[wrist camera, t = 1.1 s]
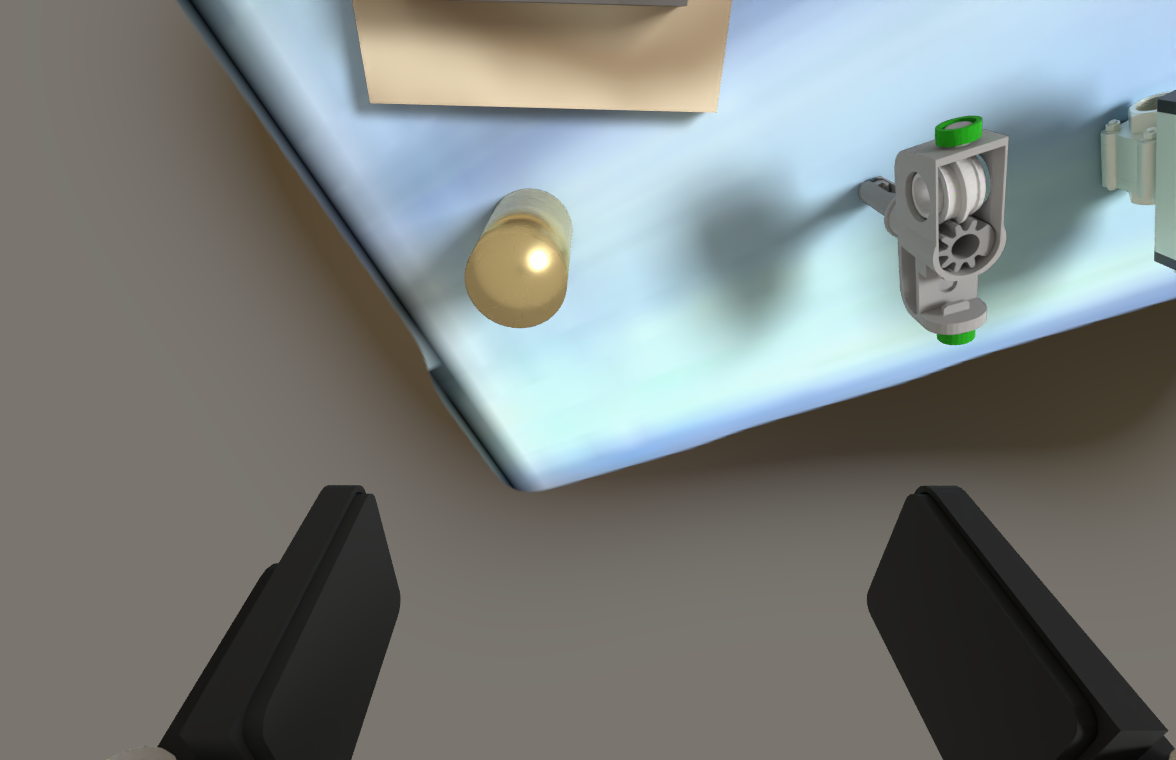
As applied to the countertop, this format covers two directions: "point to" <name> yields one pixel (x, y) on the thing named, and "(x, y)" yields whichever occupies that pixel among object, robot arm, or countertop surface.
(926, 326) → the mechanical component
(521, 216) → the tan cylinder
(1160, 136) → the pneumatic valve
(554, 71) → the jig plate
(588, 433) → the countertop surface
